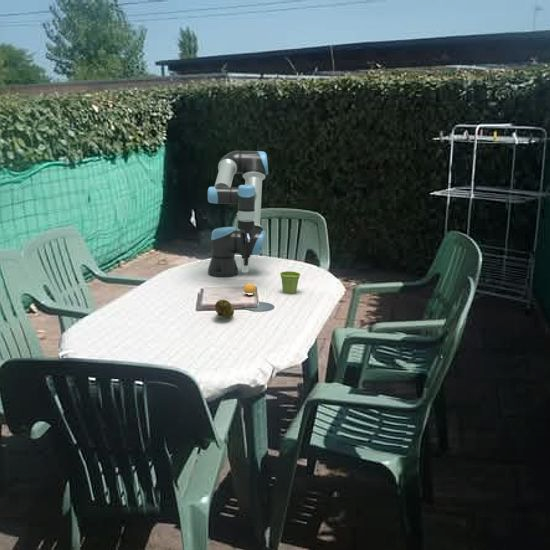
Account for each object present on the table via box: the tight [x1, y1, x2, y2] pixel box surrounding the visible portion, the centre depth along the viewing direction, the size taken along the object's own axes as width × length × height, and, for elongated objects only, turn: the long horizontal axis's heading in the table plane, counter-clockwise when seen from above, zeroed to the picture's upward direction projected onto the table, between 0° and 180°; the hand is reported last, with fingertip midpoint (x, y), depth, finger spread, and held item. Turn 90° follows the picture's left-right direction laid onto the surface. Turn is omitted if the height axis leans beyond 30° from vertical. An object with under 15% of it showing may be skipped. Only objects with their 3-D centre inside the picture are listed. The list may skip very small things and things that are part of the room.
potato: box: [214, 299, 235, 319], centre depth 228 cm, size 8×13×8 cm, turn 159°
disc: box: [243, 301, 275, 313], centre depth 244 cm, size 13×13×1 cm
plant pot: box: [279, 270, 301, 295], centre depth 266 cm, size 9×9×9 cm
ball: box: [243, 282, 257, 294], centre depth 259 cm, size 6×6×6 cm
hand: (245, 271), depth 266 cm, fingers closed
